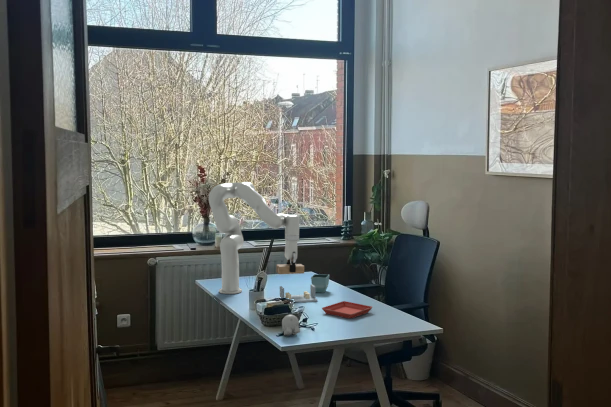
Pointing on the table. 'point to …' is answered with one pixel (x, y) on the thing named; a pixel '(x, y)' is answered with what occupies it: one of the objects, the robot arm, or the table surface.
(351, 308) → the plant saucer
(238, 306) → the table surface
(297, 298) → the peg stand
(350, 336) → the table surface
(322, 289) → the flower pot
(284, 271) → the plank
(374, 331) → the table surface
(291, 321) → the round bodied animal figurine
